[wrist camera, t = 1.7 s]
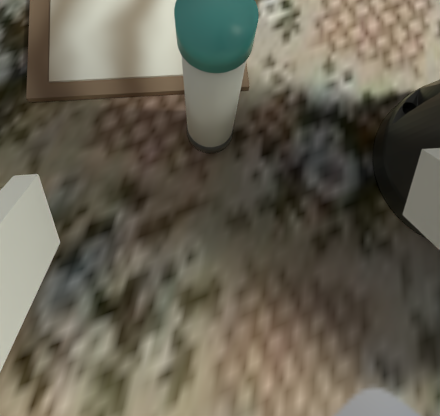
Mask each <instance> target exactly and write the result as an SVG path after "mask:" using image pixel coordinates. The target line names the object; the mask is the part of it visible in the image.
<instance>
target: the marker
mask: <svg viewBox="0 0 440 416" xmlns="http://www.w3.org/2000/svg"><path fill="white" fill-rule="evenodd" d="M174 17H175V28H176V38H177V46H178V49H179V51H180V53H181V56H182V68H183V80H184V92H185V104H186V116H187V135H188V139H189V141H190V143H191V144H192V145H193V146H194V147H195V148H196V149H197V150H199V151H202V152H205V153H216V152H219V151H221V150H223V149H224V148H226V147H227V146H228V144H229V143H230V141H231V138H232V134H233V128H234V127H233V126H234V121H235V116H236V110H237V105H238V100H239V95H240V90H241V85H242V80H243V75H244V70H245V64H246V60H247V58H248V57H249V55H250V53H251V51H252V47H253V42H254V37H255V32H256V28H257V23H258V8H257V5H256V2H255V0H176V3H175V8H174Z"/></svg>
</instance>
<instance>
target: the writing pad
mask: <svg viewBox="0 0 440 416" xmlns="http://www.w3.org/2000/svg"><path fill="white" fill-rule="evenodd" d="M175 3H176V0H30V11H29V38H28V64H27V91H26V99H27V100H28V101H29V102H44V101H63V100H81V99H99V98H118V97H136V96H155V95H173V94H185V92H184V80H183V68H182V56H181V53H180V51H179V49H178V46H177V38H176V28H175V17H174V8H175ZM247 90H249V80H248V72H247V64H245V70H244V75H243V80H242V85H241V90H240V91H247Z"/></svg>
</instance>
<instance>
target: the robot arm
mask: <svg viewBox="0 0 440 416" xmlns="http://www.w3.org/2000/svg"><path fill="white" fill-rule="evenodd" d="M373 167H374V172H375V177H376V180H377V183H378V186H379V188H380V191H381V193H382V195H383V197H384V198H385V200H386V202H387V203H388V205H389V206H390V208H391V209H392V210H393V211H394V213H395V214H396V215H397V216H398V217H399V218H400V219H401V220H402V221H403V222H404V223H405V224H406V225H407V226H409V227H410V228H411V229H412V230H414V231H415V232H417V233H418V234H420V235H422V236H423V237H425V238H427V239H428V240H429V241H430V242H431V243H433V244H434V245H435V246H436V247H437V248H438V249H439V250H440V80H438V81H435V82H433V83H430V84H428V85H425V86H423V87H421V88H419V89H417V90H416V91H414V92H413V93H411V94H410V95H408V96H407V97H406V98H404V99H403V100H402V101H401V102H400V103H399V104H398V105H397V106H396V107H395V108H394V109H393V110H392V111H391V112H390V113H389V114H388V115H387V116H386V118H385V119H384V120H383V122H382V123H381V125H380V127H379V129H378V132H377V134H376V137H375V141H374V147H373ZM59 244H60V240H59V237H58V234H57V231H56V227H55V224H54V221H53V218H52V215H51V212H50V209H49V206H48V203H47V199H46V196H45V193H44V190H43V187H42V184H41V181H40V178H39V175H38V174H30V175H14V176H13V177H12V178H11V179H10V180H9V181H8V182H7V183H6V185H5V186H4V187H3V188H2V189H1V190H0V371H1V369H2V367H3V365H4V363H5V360H6V358H7V356H8V354H9V352H10V350H11V348H12V345H13V343H14V341H15V339H16V337H17V335H18V332H19V330H20V328H21V326H22V324H23V322H24V320H25V317H26V315H27V313H28V311H29V309H30V307H31V304H32V302H33V300H34V298H35V296H36V294H37V292H38V289H39V287H40V285H41V283H42V281H43V279H44V276H45V274H46V272H47V270H48V268H49V266H50V264H51V261H52V259H53V257H54V255H55V253H56V251H57V248H58V246H59Z"/></svg>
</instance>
